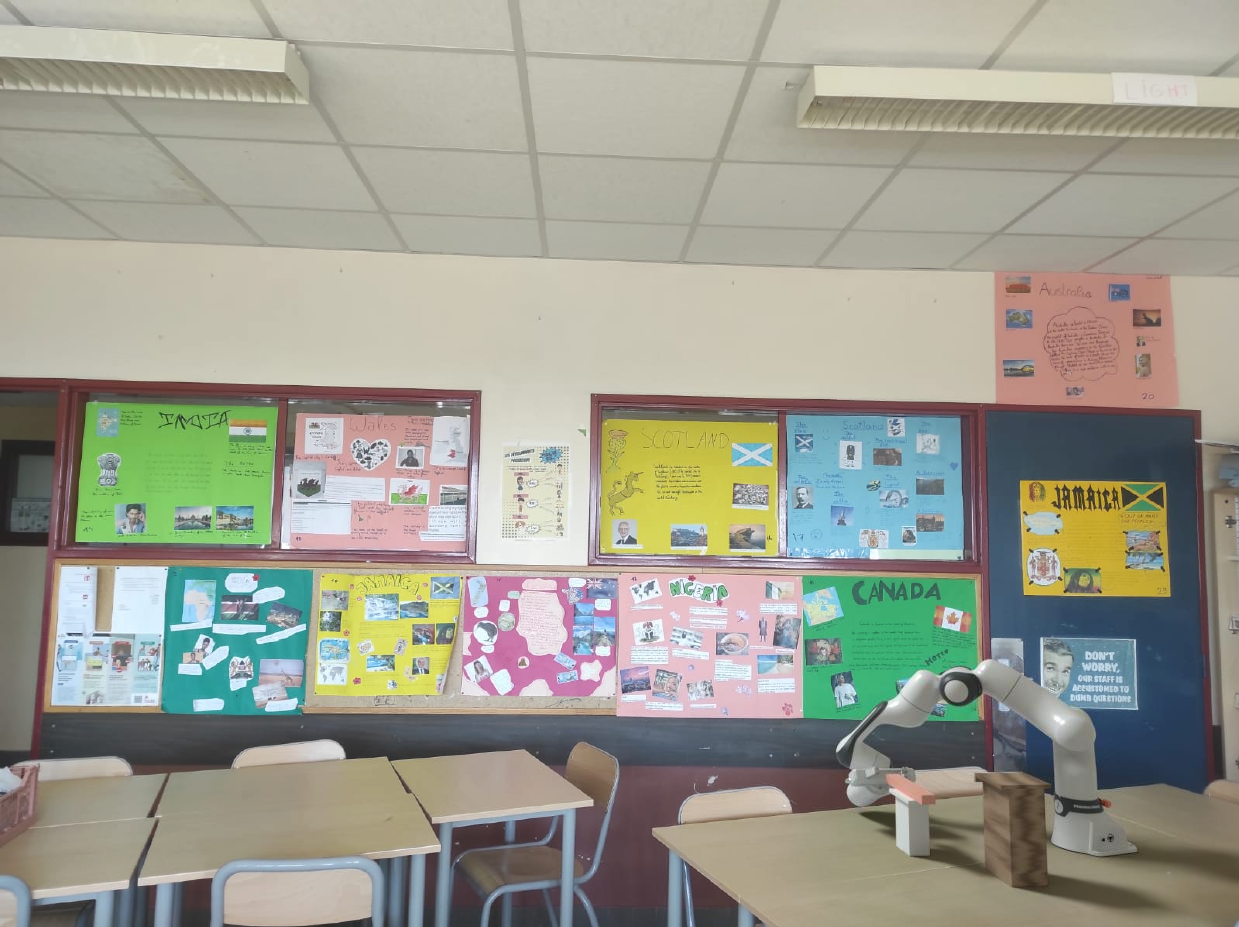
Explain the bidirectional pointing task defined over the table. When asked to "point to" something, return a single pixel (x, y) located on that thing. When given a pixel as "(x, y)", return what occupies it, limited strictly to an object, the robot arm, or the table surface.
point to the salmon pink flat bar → (911, 789)
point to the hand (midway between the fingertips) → (891, 769)
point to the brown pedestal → (1015, 827)
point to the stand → (911, 825)
